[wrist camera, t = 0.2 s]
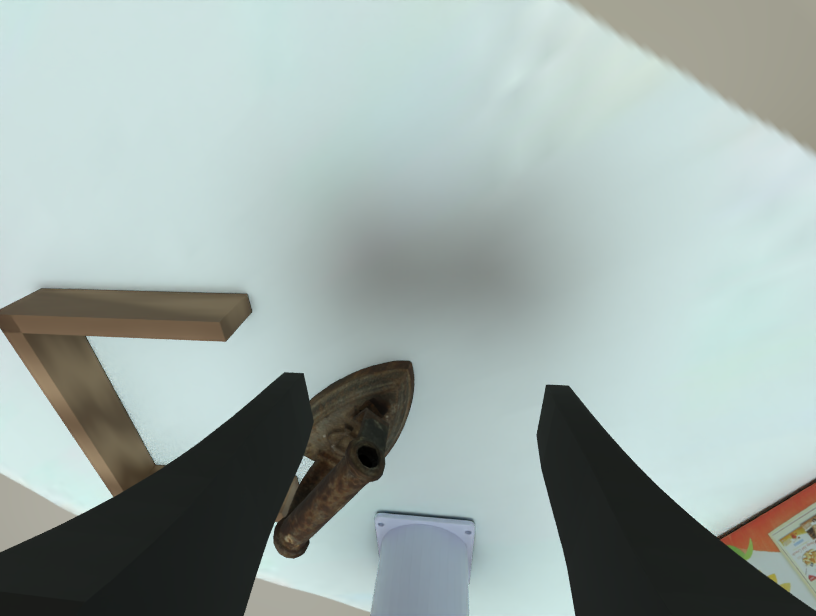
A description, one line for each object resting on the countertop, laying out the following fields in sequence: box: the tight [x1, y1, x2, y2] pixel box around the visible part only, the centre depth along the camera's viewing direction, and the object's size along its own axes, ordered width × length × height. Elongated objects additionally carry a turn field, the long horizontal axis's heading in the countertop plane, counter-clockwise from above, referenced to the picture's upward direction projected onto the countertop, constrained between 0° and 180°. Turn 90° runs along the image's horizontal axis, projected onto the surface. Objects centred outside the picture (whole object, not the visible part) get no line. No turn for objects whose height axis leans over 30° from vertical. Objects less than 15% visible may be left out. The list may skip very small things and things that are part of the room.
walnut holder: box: [0, 288, 299, 522], centre depth 26 cm, size 17×13×3 cm
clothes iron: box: [273, 361, 414, 559], centre depth 23 cm, size 7×11×10 cm, turn 146°
